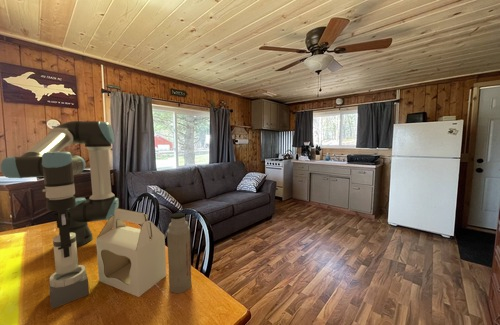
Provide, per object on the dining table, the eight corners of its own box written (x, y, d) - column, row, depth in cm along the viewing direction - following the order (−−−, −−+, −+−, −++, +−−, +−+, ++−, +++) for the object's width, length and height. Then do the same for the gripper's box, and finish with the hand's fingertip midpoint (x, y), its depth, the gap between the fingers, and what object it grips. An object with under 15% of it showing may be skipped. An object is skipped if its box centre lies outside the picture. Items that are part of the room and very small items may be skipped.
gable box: (167, 275, 87) (164, 209, 84) (139, 297, 75) (134, 220, 72) (129, 263, 96) (125, 202, 93) (98, 281, 84) (93, 212, 81)
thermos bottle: (195, 280, 84) (193, 211, 82) (185, 294, 77) (182, 219, 74) (176, 277, 86) (174, 210, 83) (165, 291, 78) (161, 217, 75)
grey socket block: (51, 293, 77) (48, 272, 76) (85, 280, 84) (84, 261, 83) (51, 309, 70) (48, 286, 69) (89, 294, 77) (87, 273, 76)
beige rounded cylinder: (77, 261, 80) (74, 231, 79) (79, 268, 76) (76, 236, 75) (55, 268, 76) (52, 236, 75) (56, 276, 72) (52, 241, 70)
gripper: (46, 193, 78) (52, 254, 80) (45, 205, 64) (52, 278, 66) (72, 190, 83) (77, 247, 85) (77, 200, 69) (83, 268, 71)
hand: (66, 260), depth 76 cm, fingers closed on beige rounded cylinder, 6 cm apart
